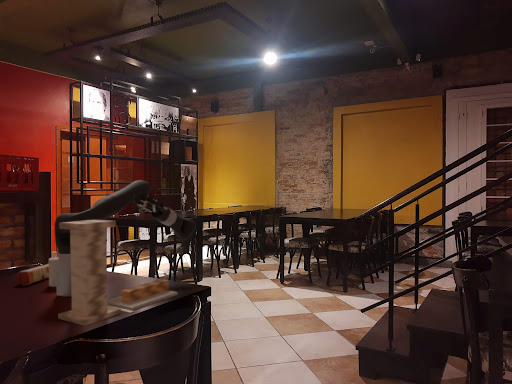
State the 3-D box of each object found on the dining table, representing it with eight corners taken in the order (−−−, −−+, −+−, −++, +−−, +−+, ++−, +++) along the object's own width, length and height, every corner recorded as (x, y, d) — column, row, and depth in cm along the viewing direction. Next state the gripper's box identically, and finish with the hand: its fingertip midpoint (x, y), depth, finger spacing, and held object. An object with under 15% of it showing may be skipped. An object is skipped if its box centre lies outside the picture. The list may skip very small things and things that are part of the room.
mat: (131, 310, 136) (131, 307, 136) (102, 303, 145) (102, 301, 145) (177, 294, 156) (177, 292, 156) (149, 289, 164) (149, 287, 164)
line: (130, 313, 133) (130, 312, 133) (94, 304, 144) (94, 303, 144) (134, 312, 135) (134, 311, 135) (97, 303, 145) (97, 302, 145)
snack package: (47, 275, 196) (47, 261, 196) (59, 275, 196) (59, 262, 195) (16, 285, 175) (15, 271, 175) (29, 286, 174) (29, 271, 174)
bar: (161, 288, 161) (161, 279, 161) (168, 290, 159) (168, 280, 159) (121, 300, 145) (121, 290, 145) (128, 302, 142) (128, 291, 142)
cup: (53, 282, 180) (53, 256, 179) (72, 281, 180) (71, 256, 180) (45, 286, 172) (45, 260, 171) (64, 286, 172) (64, 259, 172)
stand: (95, 307, 141) (93, 219, 140) (120, 313, 133) (118, 220, 133) (58, 318, 129) (56, 222, 129) (83, 325, 122) (81, 224, 121)
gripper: (156, 207, 182) (132, 190, 170) (178, 207, 174) (155, 190, 162) (150, 221, 179) (125, 205, 167) (173, 222, 171) (148, 206, 159)
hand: (140, 198), depth 165 cm, fingers open, 8 cm apart
